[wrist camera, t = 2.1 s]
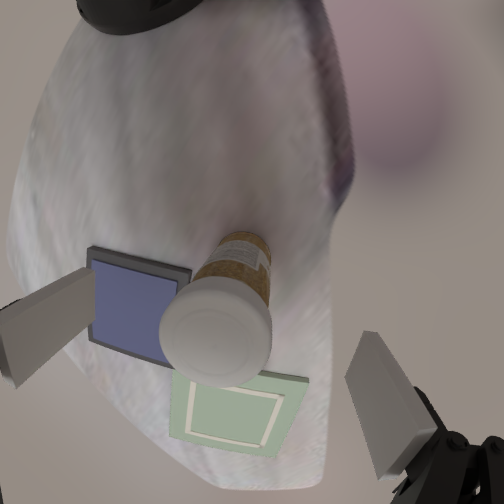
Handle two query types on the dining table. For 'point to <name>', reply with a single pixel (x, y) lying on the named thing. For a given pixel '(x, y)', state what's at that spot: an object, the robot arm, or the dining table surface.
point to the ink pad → (132, 302)
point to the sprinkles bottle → (222, 316)
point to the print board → (236, 412)
